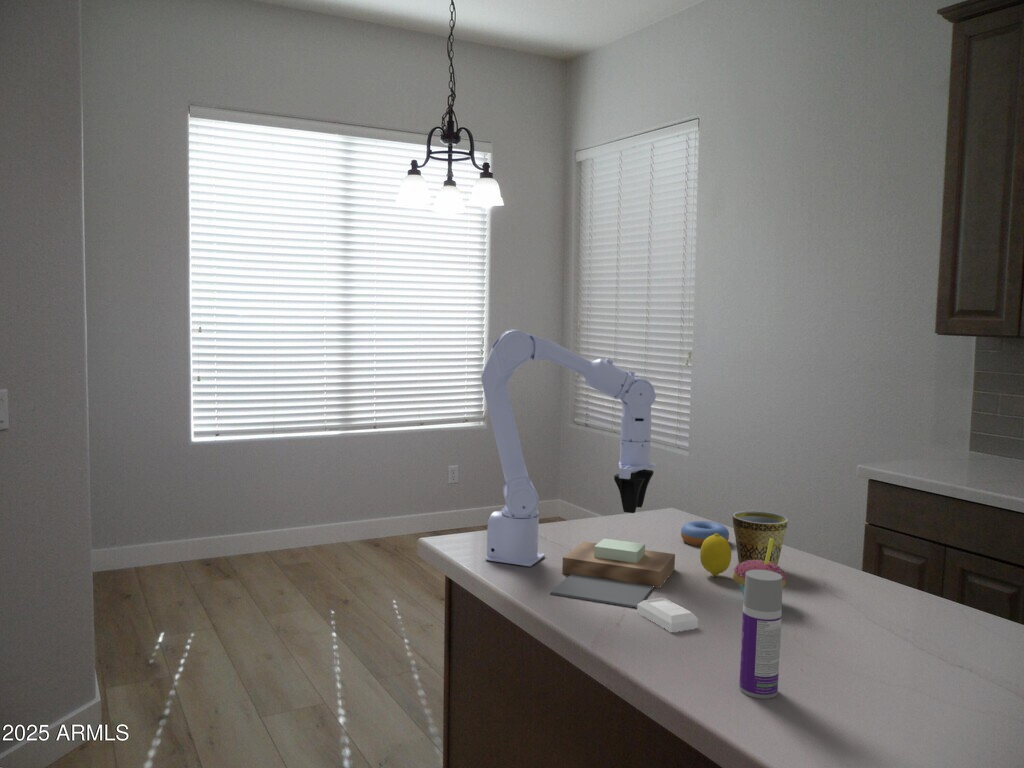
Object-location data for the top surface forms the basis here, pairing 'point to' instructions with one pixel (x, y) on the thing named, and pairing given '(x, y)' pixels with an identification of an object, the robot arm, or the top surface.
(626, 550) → the tile
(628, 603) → the mat
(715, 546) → the lemon
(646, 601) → the soap bar
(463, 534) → the top surface
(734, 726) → the top surface
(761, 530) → the ceramic cup
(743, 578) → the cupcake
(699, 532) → the doughnut
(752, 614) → the container
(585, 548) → the board
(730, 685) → the top surface
